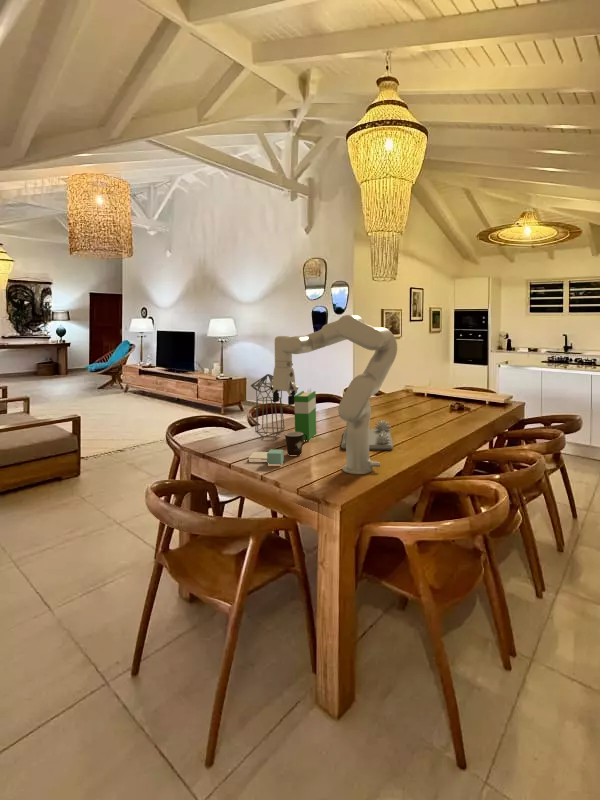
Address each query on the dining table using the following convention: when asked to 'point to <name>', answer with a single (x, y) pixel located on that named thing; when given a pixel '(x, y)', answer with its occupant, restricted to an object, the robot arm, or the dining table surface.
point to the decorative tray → (376, 437)
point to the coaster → (259, 455)
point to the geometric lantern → (266, 406)
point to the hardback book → (305, 414)
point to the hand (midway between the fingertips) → (283, 403)
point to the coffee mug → (294, 442)
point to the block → (275, 456)
